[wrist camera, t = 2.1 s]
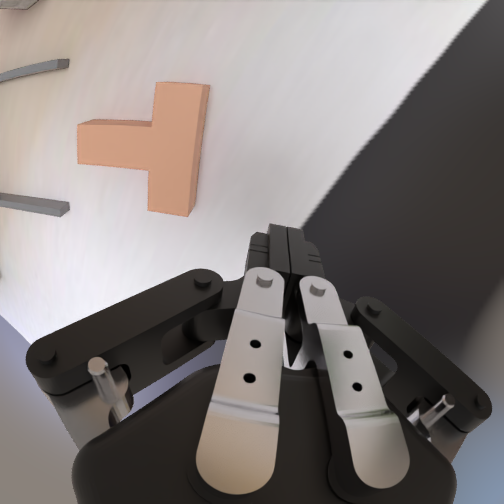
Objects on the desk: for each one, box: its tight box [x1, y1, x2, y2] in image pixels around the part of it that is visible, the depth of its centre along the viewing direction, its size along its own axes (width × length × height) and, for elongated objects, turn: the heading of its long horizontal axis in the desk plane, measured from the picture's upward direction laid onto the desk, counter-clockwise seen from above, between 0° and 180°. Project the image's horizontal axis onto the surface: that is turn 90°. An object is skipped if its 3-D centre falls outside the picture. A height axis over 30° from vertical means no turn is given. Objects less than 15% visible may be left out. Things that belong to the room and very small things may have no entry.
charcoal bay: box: [0, 59, 70, 217], centre depth 24 cm, size 18×16×2 cm
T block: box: [77, 82, 210, 217], centre depth 24 cm, size 12×12×3 cm
